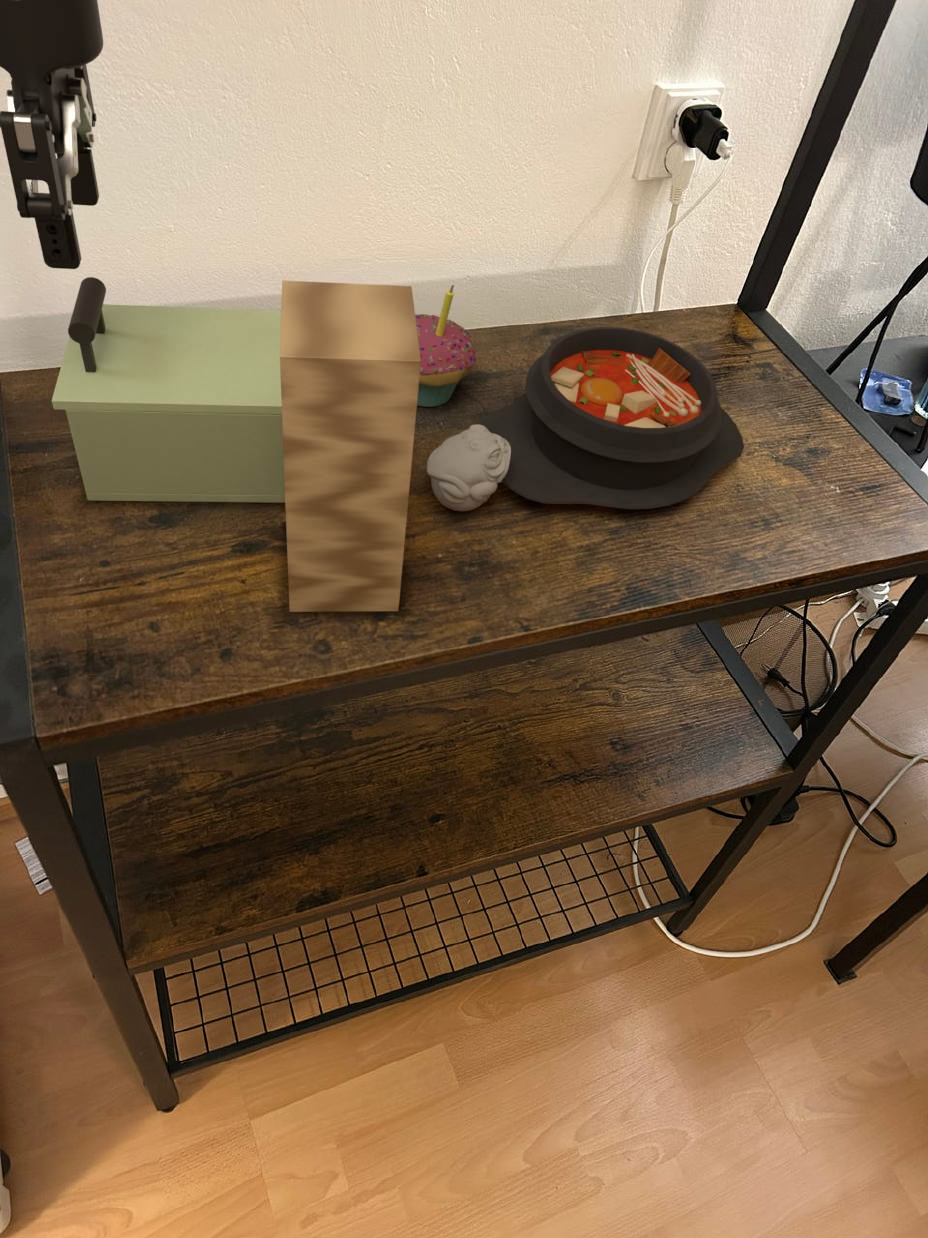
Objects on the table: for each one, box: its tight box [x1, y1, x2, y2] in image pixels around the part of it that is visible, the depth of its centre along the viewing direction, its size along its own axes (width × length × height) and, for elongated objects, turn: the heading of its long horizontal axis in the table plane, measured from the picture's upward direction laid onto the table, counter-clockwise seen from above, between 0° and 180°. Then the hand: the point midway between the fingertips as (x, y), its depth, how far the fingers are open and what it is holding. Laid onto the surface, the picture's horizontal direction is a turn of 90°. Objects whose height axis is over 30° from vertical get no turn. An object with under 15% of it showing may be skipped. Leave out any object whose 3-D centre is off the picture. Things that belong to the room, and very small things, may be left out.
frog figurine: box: [426, 423, 511, 512], centre depth 78 cm, size 6×7×7 cm
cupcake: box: [415, 284, 477, 408], centre depth 86 cm, size 9×8×12 cm
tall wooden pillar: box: [280, 280, 421, 613], centre depth 66 cm, size 8×8×22 cm
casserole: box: [479, 326, 745, 510], centre depth 84 cm, size 25×19×8 cm
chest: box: [65, 410, 285, 504], centre depth 78 cm, size 16×13×9 cm
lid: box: [51, 276, 282, 414], centre depth 73 cm, size 16×13×5 cm
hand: (74, 233), depth 66 cm, fingers open, 8 cm apart
